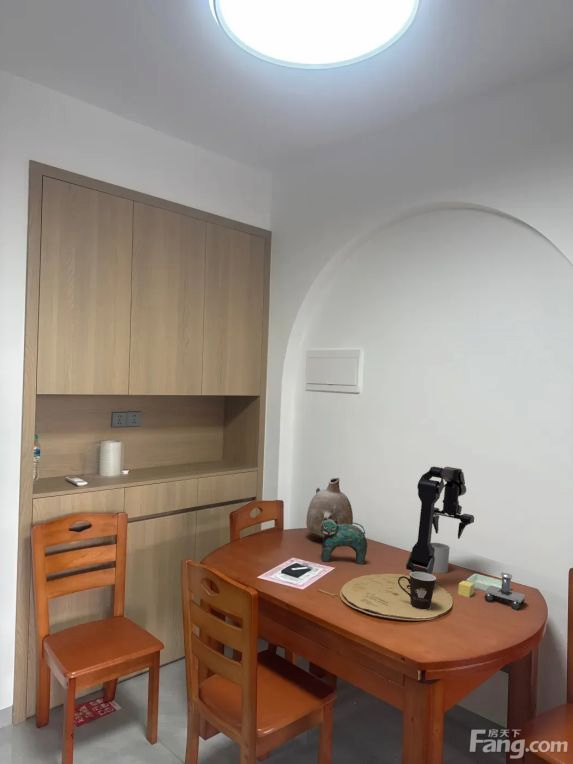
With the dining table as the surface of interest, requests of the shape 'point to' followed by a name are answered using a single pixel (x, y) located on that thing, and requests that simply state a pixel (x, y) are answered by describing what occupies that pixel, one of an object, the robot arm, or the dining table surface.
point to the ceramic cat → (342, 539)
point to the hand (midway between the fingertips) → (447, 535)
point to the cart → (504, 596)
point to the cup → (441, 557)
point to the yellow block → (466, 588)
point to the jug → (328, 507)
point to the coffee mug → (420, 589)
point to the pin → (505, 586)
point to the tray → (484, 582)
